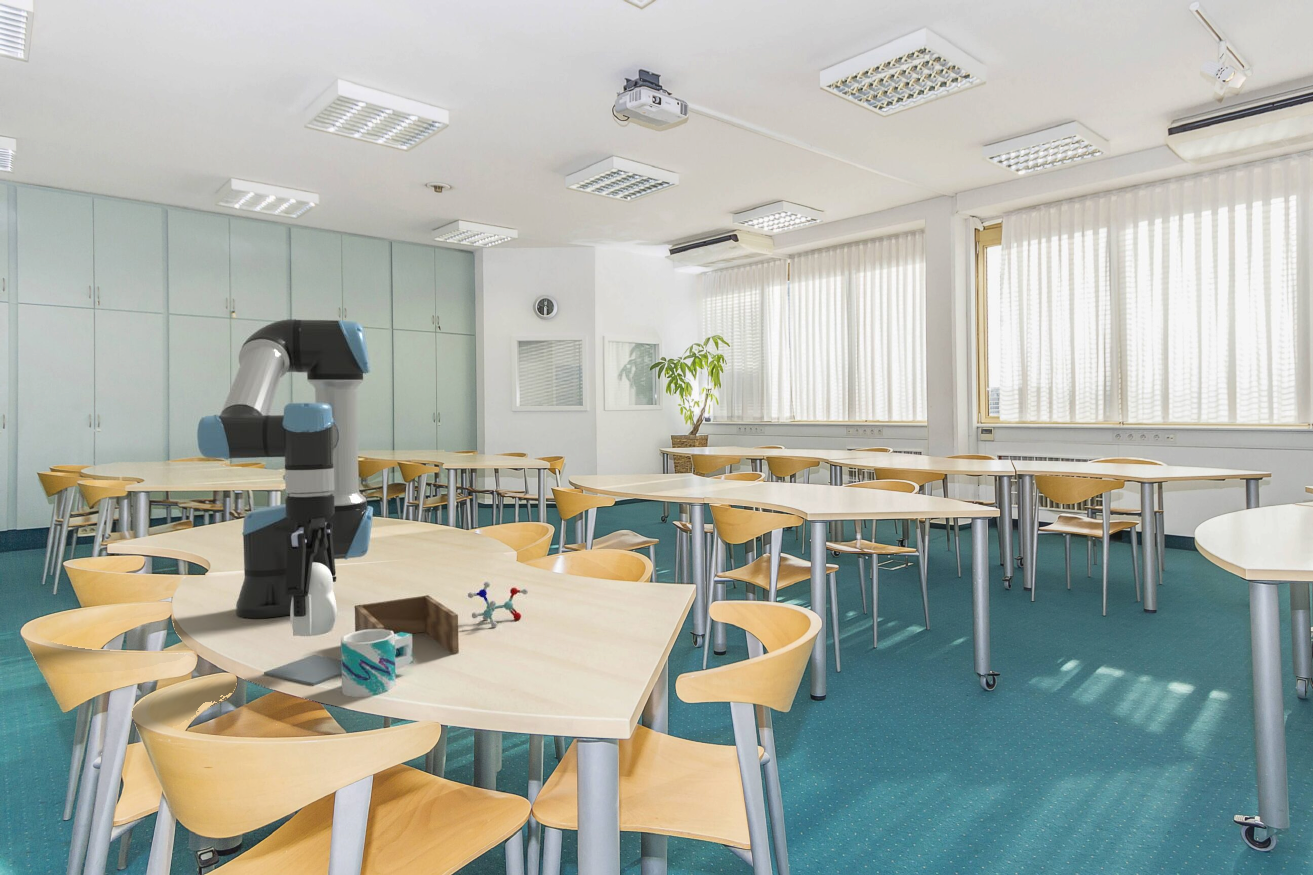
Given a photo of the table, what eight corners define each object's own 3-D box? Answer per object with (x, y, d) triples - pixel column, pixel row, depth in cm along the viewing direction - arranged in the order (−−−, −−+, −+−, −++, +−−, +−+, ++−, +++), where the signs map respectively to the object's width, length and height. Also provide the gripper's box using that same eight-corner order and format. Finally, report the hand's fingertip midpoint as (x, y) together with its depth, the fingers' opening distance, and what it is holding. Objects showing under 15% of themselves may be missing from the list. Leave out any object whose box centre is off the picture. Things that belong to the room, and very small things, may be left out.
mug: (330, 691, 117) (329, 638, 117) (389, 667, 128) (388, 619, 128) (367, 700, 113) (366, 645, 113) (425, 675, 124) (424, 625, 124)
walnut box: (355, 641, 143) (354, 605, 142) (428, 629, 150) (427, 595, 150) (378, 668, 128) (378, 627, 127) (458, 652, 135) (458, 614, 135)
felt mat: (263, 674, 125) (263, 672, 125) (314, 656, 134) (314, 654, 134) (313, 685, 120) (313, 682, 120) (362, 666, 129) (362, 663, 129)
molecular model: (509, 614, 148) (494, 569, 152) (471, 635, 150) (456, 590, 154) (538, 616, 158) (522, 574, 162) (501, 636, 160) (487, 594, 164)
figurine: (291, 640, 122) (289, 567, 121) (290, 629, 129) (288, 560, 128) (338, 634, 125) (336, 563, 125) (334, 623, 132) (333, 556, 131)
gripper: (311, 488, 136) (314, 612, 137) (258, 501, 115) (261, 646, 116) (353, 487, 137) (356, 610, 137) (308, 500, 116) (311, 645, 116)
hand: (313, 627), depth 127 cm, fingers closed on figurine, 8 cm apart
